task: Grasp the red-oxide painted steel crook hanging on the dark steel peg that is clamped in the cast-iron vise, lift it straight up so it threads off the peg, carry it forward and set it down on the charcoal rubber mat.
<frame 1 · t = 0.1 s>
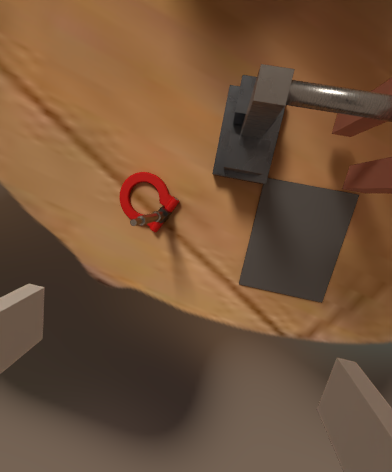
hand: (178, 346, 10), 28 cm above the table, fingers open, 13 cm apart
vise: (246, 139, 34), on the table
tow hook: (147, 200, 38), on the table
mat: (294, 242, 36), on the table
crook: (344, 125, 28), point 4 cm above the table, touching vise
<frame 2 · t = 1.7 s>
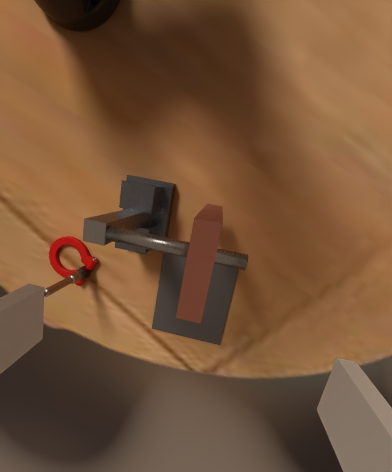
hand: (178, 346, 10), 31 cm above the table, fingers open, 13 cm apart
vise: (148, 213, 40), on the table
tow hook: (73, 258, 44), on the table
mat: (193, 295, 43), on the table
crook: (213, 212, 35), point 4 cm above the table, touching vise
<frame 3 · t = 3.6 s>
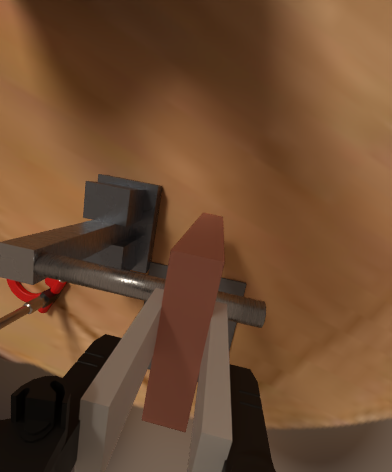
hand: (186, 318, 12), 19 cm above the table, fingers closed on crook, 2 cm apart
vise: (128, 223, 32), on the table
tow hook: (37, 277, 36), on the table
mat: (186, 326, 34), on the table
crook: (210, 224, 26), point 4 cm above the table, touching gripper, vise
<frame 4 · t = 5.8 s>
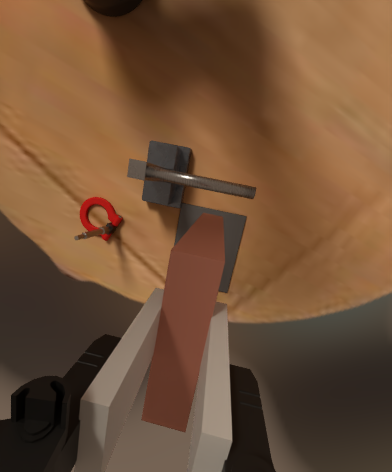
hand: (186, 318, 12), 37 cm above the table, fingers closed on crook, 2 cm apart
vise: (168, 175, 47), on the table
tow hook: (100, 216, 51), on the table
mat: (205, 249, 50), on the table
crook: (211, 224, 26), point 22 cm above the table, touching gripper
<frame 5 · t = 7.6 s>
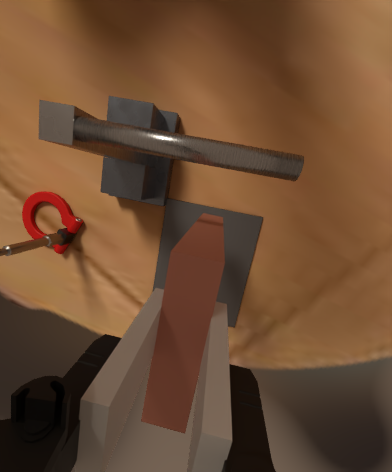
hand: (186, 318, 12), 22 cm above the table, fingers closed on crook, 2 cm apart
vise: (146, 158, 32), on the table
tow hook: (53, 219, 36), on the table
mat: (202, 265, 34), on the table
crook: (210, 224, 26), point 6 cm above the table, touching gripper
when the fingers open (18 cm above the table, at t = 8.3 s): crook moves 8 cm and tips over, resting on mat.
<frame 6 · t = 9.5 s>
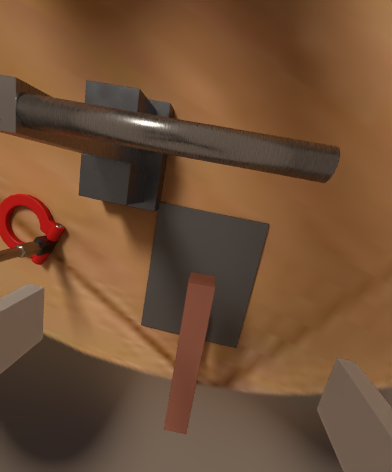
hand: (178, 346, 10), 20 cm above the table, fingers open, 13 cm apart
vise: (135, 156, 28), on the table
tow hook: (32, 226, 32), on the table
mat: (200, 277, 30), on the table
crook: (202, 279, 21), point 9 cm above the table, tilted 91°, touching mat
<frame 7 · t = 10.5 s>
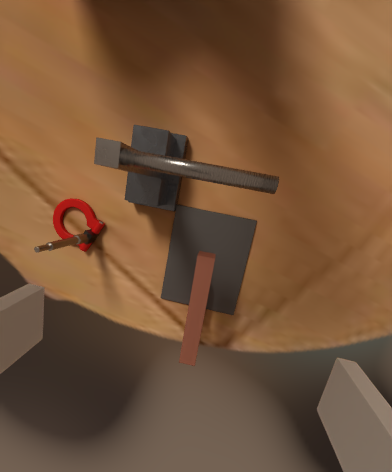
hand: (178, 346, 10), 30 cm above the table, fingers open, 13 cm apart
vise: (159, 171, 38), on the table
tow hook: (79, 222, 42), on the table
mat: (206, 261, 40), on the table
crook: (206, 254, 31), point 9 cm above the table, tilted 90°, touching mat
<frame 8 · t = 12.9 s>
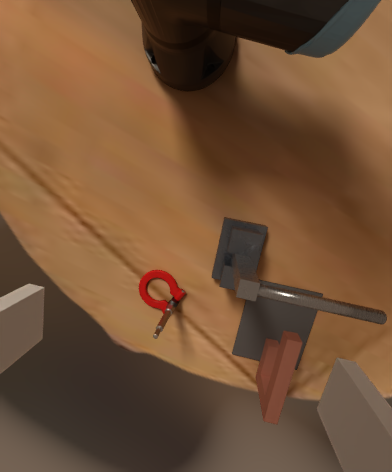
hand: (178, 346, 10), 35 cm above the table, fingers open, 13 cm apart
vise: (237, 250, 44), on the table
tow hook: (160, 289, 48), on the table
mat: (274, 325, 46), on the table
crook: (292, 336, 37), point 9 cm above the table, tilted 90°, touching mat
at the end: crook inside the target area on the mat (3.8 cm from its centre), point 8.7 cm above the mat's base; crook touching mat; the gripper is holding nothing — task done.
